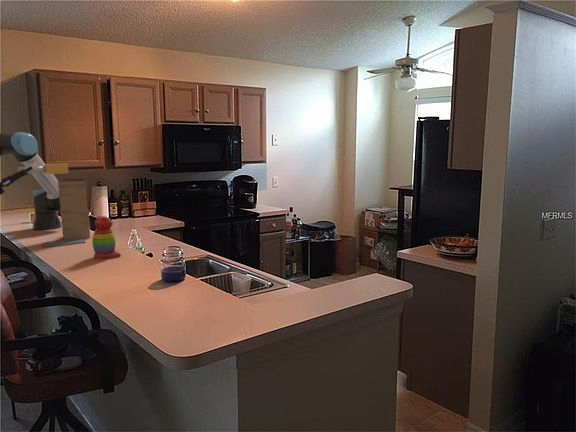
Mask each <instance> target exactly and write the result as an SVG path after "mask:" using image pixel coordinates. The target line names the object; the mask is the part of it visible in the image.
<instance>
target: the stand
mask: <svg viewBox="0 0 576 432" xmlns="http://www.w3.org/2000/svg"><path fill="white" fill-rule="evenodd" d="M57 180H58V187H59V198H60V209H61V211H60V218H61V220H60V221H61V231H62V240H72V239H81V238H82V239H83V240H86V239H87V240H88V239H91V228H90V229H89V222H90V216H89V217H88V215H89V209H88V196H87V195H88V193H87V186H86V185H87V184H86V178H84V177H73V178H72V177H71V178H68V177H67V178H58V179H57Z"/></svg>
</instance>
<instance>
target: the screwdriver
mask: <svg viewBox="0 0 576 432" xmlns="http://www.w3.org/2000/svg"><path fill="white" fill-rule="evenodd" d="M24 168H26V166H17V172H20V171H21V170H23V169H24ZM24 170H25V169H24ZM44 172H46V174H53V175H58V174H59V175H61V174H62V175H63V174H69V172H70V171H69V163H45V166H40V167H38V168H36V169H34V170H33V171H31V172H29V173H28V174H31V173H44Z"/></svg>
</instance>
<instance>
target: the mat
mask: <svg viewBox="0 0 576 432" xmlns="http://www.w3.org/2000/svg"><path fill="white" fill-rule="evenodd" d="M79 244H86V241H85V239H82V238H81V239H72V240H64V239H62V240H56V241H48V242H43V244H42V245H43V246H44V248H51V247H52V248H53V247H62V246H69V245H70V246H71V245H79Z"/></svg>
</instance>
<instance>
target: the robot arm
mask: <svg viewBox="0 0 576 432" xmlns="http://www.w3.org/2000/svg"><path fill="white" fill-rule="evenodd" d="M38 153H39V145H38V140H37V139H36V137H34V136H33V135H32V134H31V133H28V132H23V131H19V132H1V133H0V157H4V156H11V157H13V158H14V159H15V160H16V162H18V163H19V164H20V163H21V164H23V165H24V167H26V168H24V169H25V170H24V169H23V170H21V171H20V172H18V171H16V172H15V173H13V174H11V175H8V176H7V177H3V178H1V181H0V196H1V195H3V194H4V193H5V189H4V187H6V188H8V187H9V186H10V185H12V184H13V183H15V182H16V181H17V180H19V179H21V178H22V177H23V176H24V177H25V176H29V174H31V175H32V176H33V178H34V179H35V180H36V181H37V182H38V183H39V185H40V186H41V187H42V189H38V190H37V189H36V190H34V191H33V192H32V200H33V201H32V202H33V208H34V219H33V224H32V229H33V230H35V231H36V230H38V231H43V230H44V231H45V230H46V231H48V230H54V229H59V228H62V220H60V217H59V215H58V212H61V209H60V198H59V187H58V179H57V177H56V176H55V174H46V172H44V173H29V172H31V171H33V170H34V169H36V168H38V167H40V166H45V164H46V163H45V162H44V161H43V159H42V158H41V157H40V155H39V154H38Z"/></svg>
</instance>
